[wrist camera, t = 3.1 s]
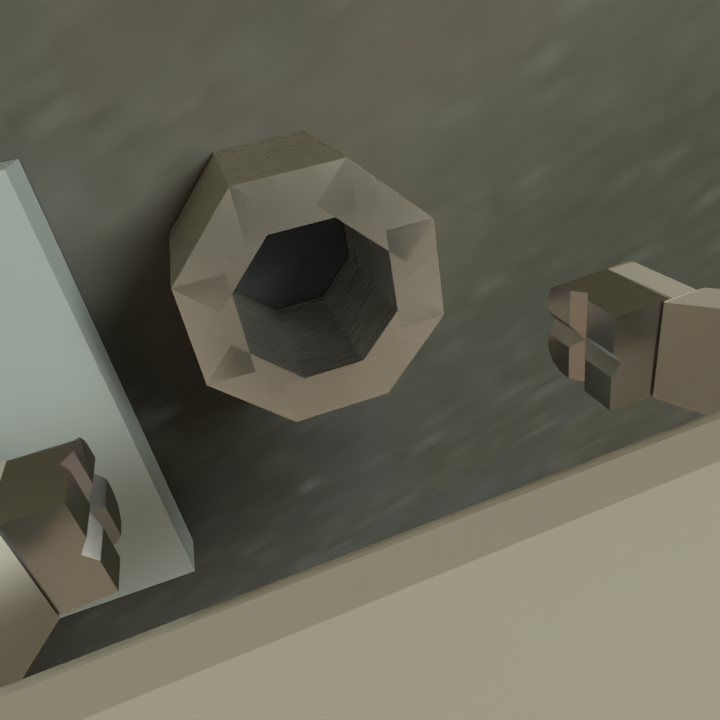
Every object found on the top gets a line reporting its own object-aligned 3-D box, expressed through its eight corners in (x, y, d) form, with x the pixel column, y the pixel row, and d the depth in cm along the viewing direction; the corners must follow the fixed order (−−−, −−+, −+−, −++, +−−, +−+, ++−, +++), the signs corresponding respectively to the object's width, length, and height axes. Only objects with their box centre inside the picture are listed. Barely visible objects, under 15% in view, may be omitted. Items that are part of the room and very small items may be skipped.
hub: (395, 310, 20) (450, 373, 16) (214, 363, 19) (227, 444, 15) (365, 116, 17) (425, 137, 13) (146, 167, 16) (140, 206, 12)
